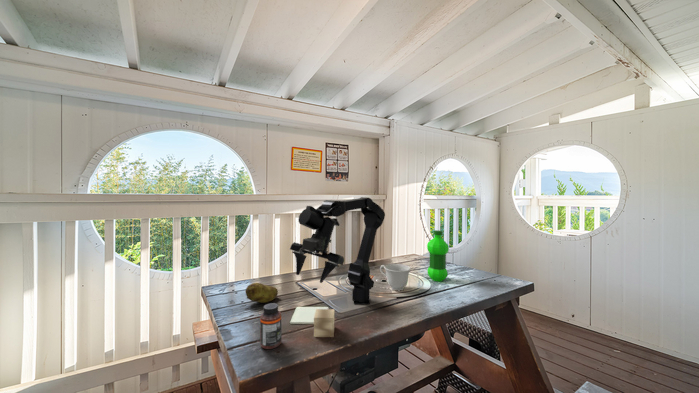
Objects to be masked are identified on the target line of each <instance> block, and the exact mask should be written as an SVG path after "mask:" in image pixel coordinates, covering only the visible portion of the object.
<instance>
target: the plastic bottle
mask: <svg viewBox="0 0 699 393" xmlns="http://www.w3.org/2000/svg"><path fill="white" fill-rule="evenodd" d="M433 235H434V237H433V238H432V239H430V241H428V242H427V243H426V244H427V245H426V248H427V252H429V265H428V268H427V275H428V276H429V278H430V280H432V281H434V282H440V283H442V282H443V281H444V280H446V278H448V270H447V267H446V266H447V264H446V263H447V254H448V253H449V250H450V249H449V248H450V246H449V244H448V243H447V242H446V241H445V240H444V239H443V238H442V235H443V230H439V229H438V230H433Z"/></svg>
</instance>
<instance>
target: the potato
mask: <svg viewBox="0 0 699 393" xmlns="http://www.w3.org/2000/svg"><path fill="white" fill-rule="evenodd" d="M245 295H246V299H247V300H249V301H251V302H254V303H255V302H257V303H261V304H267V303H269V302H270V303H271V301H273V300H274V299H276V298H277V297H278V295H279V293H278V288H276V287H274V286H270V285H267V284H264V283H260V282H253V283H251V284H249V285H247V287H246V288H245Z"/></svg>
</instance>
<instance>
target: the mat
mask: <svg viewBox="0 0 699 393" xmlns="http://www.w3.org/2000/svg"><path fill="white" fill-rule="evenodd" d="M316 309H329V307H328V306H296V308H295V310H294V313H293V315H292V317H291V320H290V322H289V324H291V325H297V324H298V325H299V324H300V325H314V316H315V312H316Z"/></svg>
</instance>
